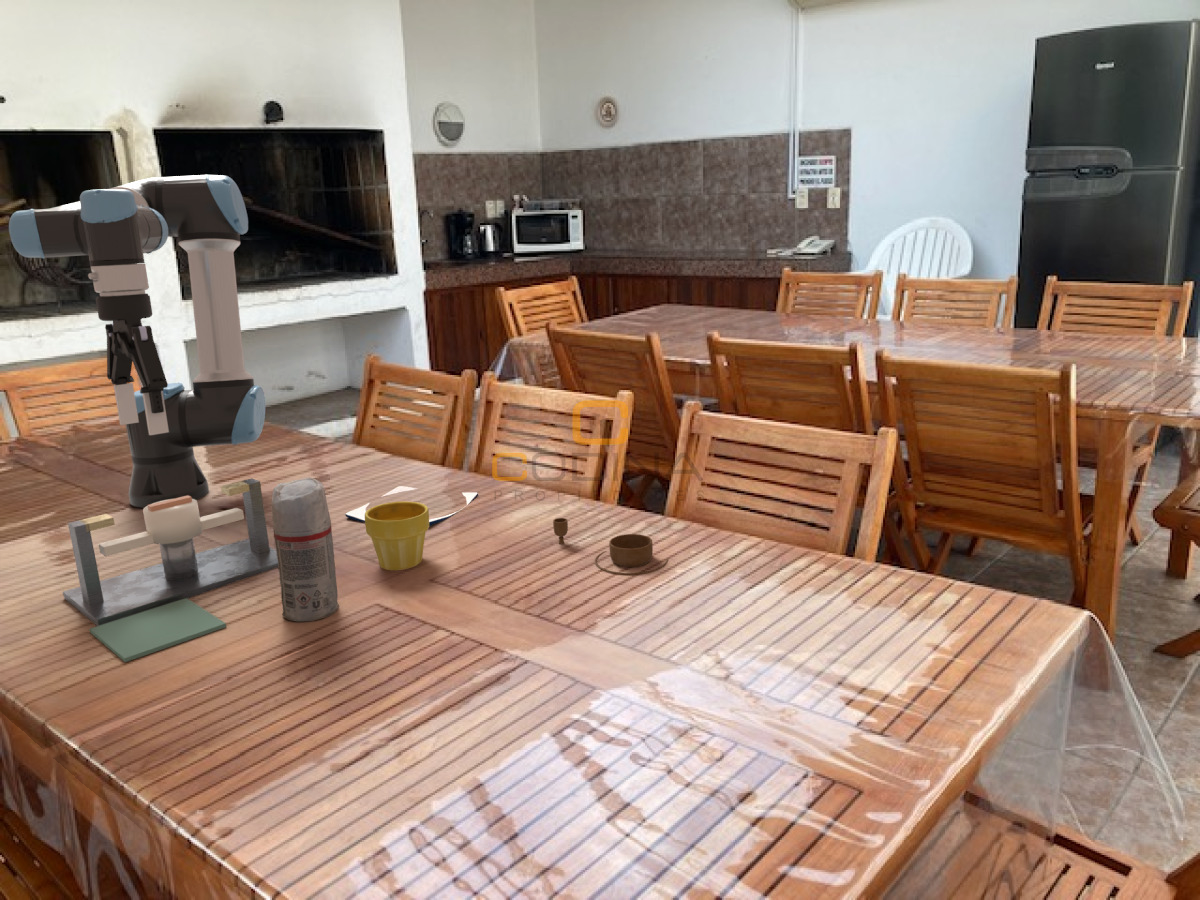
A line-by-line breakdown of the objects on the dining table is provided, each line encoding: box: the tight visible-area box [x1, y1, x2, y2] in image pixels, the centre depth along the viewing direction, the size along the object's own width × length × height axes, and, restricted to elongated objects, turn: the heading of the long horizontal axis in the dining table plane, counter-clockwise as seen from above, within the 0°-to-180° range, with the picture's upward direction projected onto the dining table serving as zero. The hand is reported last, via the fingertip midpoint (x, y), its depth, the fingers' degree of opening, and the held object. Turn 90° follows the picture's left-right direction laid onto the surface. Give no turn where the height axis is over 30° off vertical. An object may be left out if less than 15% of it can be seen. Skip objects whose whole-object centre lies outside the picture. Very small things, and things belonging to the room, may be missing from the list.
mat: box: [89, 598, 227, 663], centre depth 135 cm, size 14×14×1 cm
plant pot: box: [364, 500, 430, 571], centre depth 155 cm, size 10×10×10 cm
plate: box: [344, 485, 479, 527], centre depth 182 cm, size 20×20×3 cm
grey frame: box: [62, 478, 278, 627], centre depth 152 cm, size 31×16×14 cm, turn 135°
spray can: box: [271, 476, 340, 622], centre depth 137 cm, size 8×8×20 cm
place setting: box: [552, 517, 669, 576], centre depth 154 cm, size 18×20×6 cm
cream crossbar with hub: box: [98, 495, 245, 557], centre depth 151 cm, size 22×8×6 cm, turn 135°
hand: (143, 428), depth 149 cm, fingers open, 13 cm apart
